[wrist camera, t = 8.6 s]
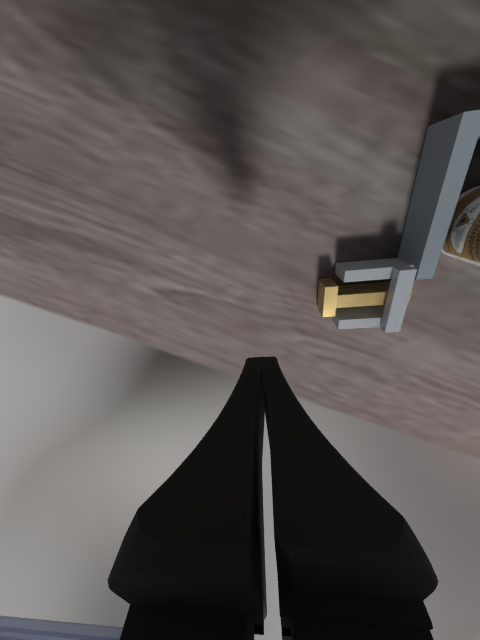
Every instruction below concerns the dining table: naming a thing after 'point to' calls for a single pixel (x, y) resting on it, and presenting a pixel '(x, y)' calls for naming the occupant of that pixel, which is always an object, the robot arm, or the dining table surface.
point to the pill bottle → (465, 228)
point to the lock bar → (350, 295)
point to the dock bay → (417, 224)
